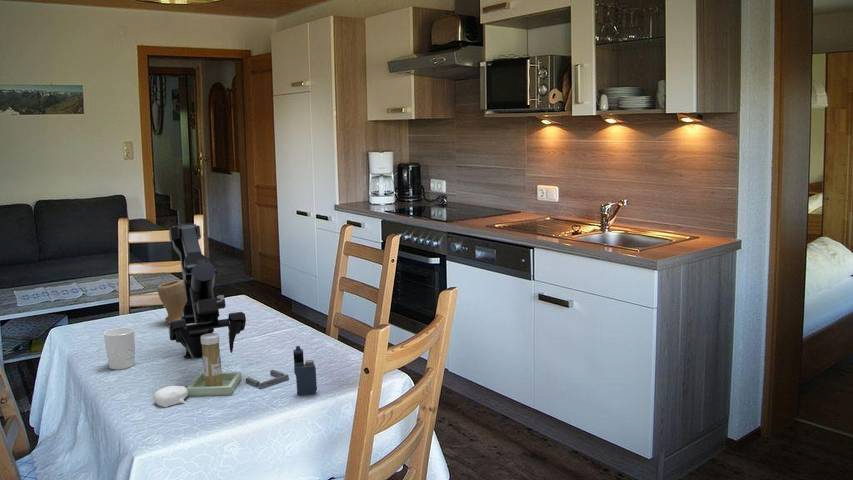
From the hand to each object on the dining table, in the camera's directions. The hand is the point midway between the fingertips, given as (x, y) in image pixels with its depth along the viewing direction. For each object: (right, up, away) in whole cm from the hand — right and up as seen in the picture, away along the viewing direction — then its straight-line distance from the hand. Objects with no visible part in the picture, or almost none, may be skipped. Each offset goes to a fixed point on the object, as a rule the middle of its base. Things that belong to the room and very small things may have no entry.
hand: (213, 354), depth 185 cm
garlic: (-8, -11, -6) cm, 15 cm away
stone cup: (-29, 0, +62) cm, 69 cm away
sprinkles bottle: (-1, -9, +3) cm, 9 cm away
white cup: (-32, -7, +22) cm, 39 cm away
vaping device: (+24, -9, -3) cm, 26 cm away
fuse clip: (+12, -8, +7) cm, 16 cm away
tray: (0, -9, +3) cm, 9 cm away
